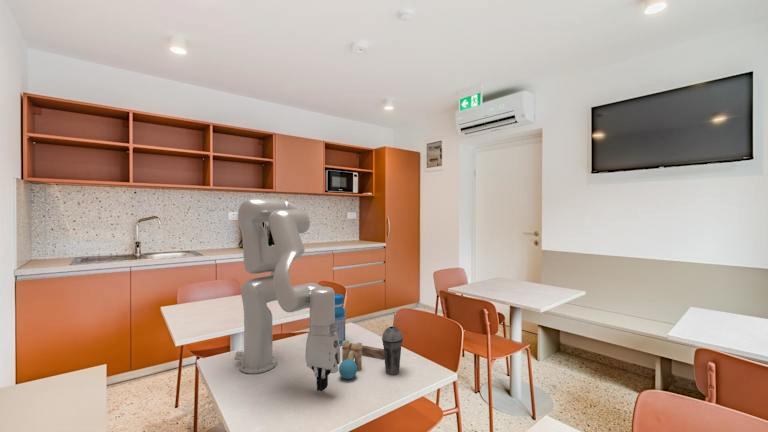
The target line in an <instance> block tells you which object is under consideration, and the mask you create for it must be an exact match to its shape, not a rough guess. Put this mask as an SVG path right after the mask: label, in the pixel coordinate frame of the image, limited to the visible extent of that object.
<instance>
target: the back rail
mask: <svg viewBox="0 0 768 432" xmlns="http://www.w3.org/2000/svg"><path fill="white" fill-rule="evenodd" d="M352 344H353V343H351V342H349V352H350V349H351V346H352ZM363 356H364V357H367V358H374V359H380V360H384V361H385V358H384V348H379V347H373V346H368V345H362V357H363Z"/></svg>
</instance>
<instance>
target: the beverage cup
mask: <svg viewBox="0 0 768 432" xmlns="http://www.w3.org/2000/svg"><path fill="white" fill-rule="evenodd" d="M395 322H396V313H393V322H392V326H388V327H386V328H385V330H384V331H383V333H382V337H381V340H382V346H383V349H384V358H385V360H384V368H385V374H386V375H388V376H396V375H398V374H399V372H400V366H401V352H402V347H403V346H402V345H403V338H404V337H403V334H402V332H401V330H400V329H399V328H398V327H396V326H395V325H396V323H395Z"/></svg>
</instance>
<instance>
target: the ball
mask: <svg viewBox="0 0 768 432" xmlns="http://www.w3.org/2000/svg"><path fill="white" fill-rule="evenodd" d="M338 372H339V375H340V376H341V378H343V379H345V380H346V379H347V380H349V379H353V378H354V377H355V376H356V374H357V372H358V371H357V365H356V363H355V360H354V361H353V360H351V359H346V360H344V361H343V362H342V361H341V362H340V364H339V366H338Z"/></svg>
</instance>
